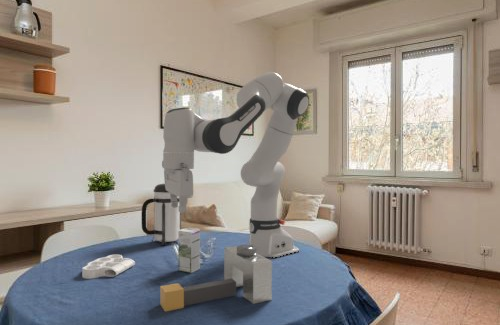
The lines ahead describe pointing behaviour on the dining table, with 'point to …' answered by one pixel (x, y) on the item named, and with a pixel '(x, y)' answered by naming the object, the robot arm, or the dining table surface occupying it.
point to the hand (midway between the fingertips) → (178, 209)
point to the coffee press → (163, 216)
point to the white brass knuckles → (107, 266)
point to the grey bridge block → (249, 272)
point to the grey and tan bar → (195, 293)
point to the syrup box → (188, 250)
